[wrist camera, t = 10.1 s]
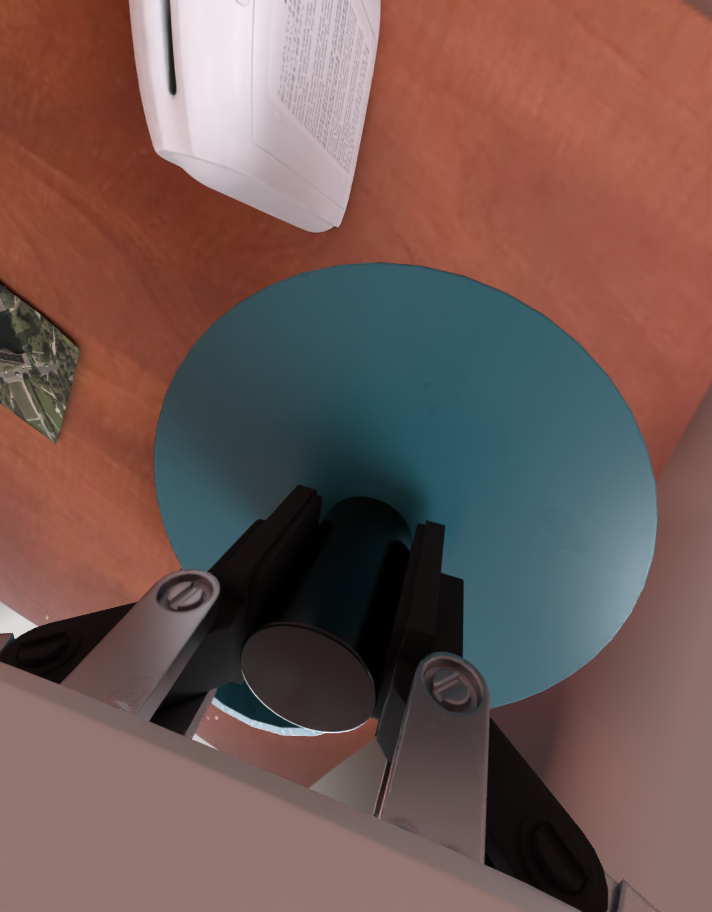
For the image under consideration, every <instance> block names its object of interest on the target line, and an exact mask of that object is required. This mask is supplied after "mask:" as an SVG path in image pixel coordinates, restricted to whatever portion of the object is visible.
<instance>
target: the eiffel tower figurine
mask: <svg viewBox="0 0 712 912" xmlns="http://www.w3.org/2000/svg"><path fill="white" fill-rule="evenodd" d="M79 353H80V350H79V349H78V348H77V347H76V346H75V345H74V344H73V343H72V342H71V341H70V340H69V339H68V338H67V337H66V336H64V335H63V334H62V333H61V332H60V331H59V330H58V329H57V328H56V327H55V326H53V325H52V324H51V323H50V322H49V321H48V320H46V319H45V318H44V317H43V316H42V315H41V314H39V313H38V312H37V311H35V310H34V309H33V308H31V307H30V306H29V305H27V304H26V303H25V302H23V301H22V300H20V299H19V298H18V297H16V296H15V295H14V294H12V293H11V292H10V291H8V290H7V288H6V286H2V285H0V403H1V404H2V405H4V406H5V407H6V408H8V409H9V410H10V411H11V412H13V413H14V414H16V415H17V416H18V417H20V418H21V419H22V420H24V421H25V422H26V423H28V424H29V425H31V426H32V427H33V428H35V429H36V430H38V431H39V432H40V433H42V434H43V435H44V436H46V437H47V438H48V439H50V440H51V441H52V442H54V443H55V444H56V443H57V439H58V435H59V432H60V428H61V425H62V421H63V417H64V413H65V409H66V405H67V401H68V397H69V393H70V389H71V385H72V381H73V376H74V372H75V368H76V364H77V360H78V357H79Z"/></svg>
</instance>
